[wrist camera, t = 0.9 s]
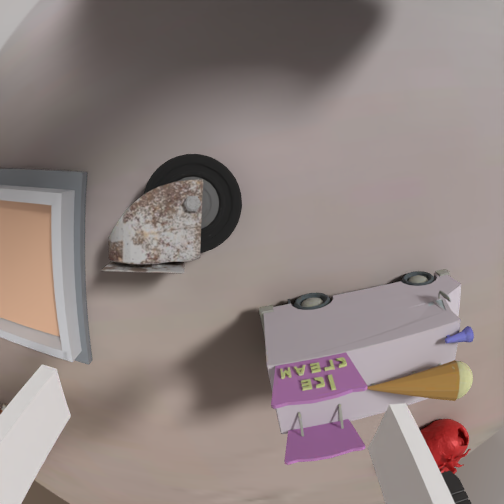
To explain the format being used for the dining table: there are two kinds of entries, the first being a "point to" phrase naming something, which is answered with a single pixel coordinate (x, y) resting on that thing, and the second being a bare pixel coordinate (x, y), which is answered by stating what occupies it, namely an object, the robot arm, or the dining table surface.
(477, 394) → the dining table surface
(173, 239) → the caster wheel
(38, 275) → the tray
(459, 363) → the toy vehicle
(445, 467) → the pomegranate
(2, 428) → the robot arm
